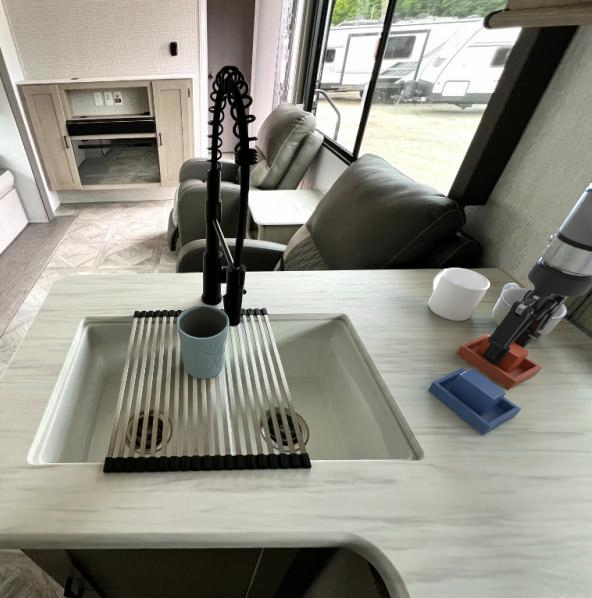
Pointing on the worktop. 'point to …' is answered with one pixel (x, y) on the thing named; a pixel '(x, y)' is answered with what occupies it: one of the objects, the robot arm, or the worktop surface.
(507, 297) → the teacup
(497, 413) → the tray blue
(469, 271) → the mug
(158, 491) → the worktop surface
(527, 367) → the tray rust
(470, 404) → the blue rectangular block
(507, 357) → the rust bar
